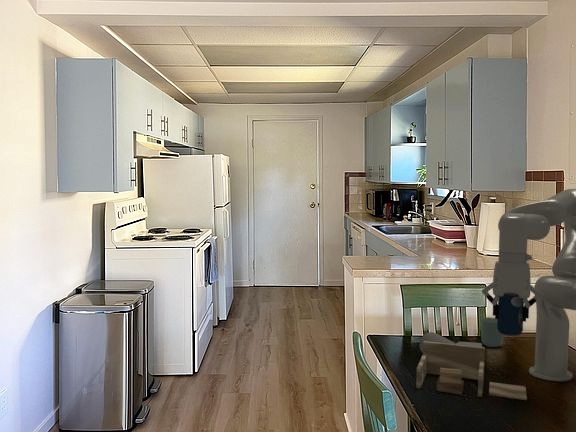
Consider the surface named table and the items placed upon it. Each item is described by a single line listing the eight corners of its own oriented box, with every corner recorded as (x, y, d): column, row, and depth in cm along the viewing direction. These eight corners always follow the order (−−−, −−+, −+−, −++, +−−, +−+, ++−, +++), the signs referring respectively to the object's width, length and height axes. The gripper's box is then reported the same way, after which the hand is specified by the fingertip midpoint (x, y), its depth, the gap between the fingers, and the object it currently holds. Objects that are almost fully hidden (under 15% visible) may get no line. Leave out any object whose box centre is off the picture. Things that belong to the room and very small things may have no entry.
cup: (476, 344, 219) (477, 317, 219) (493, 342, 222) (494, 316, 221) (489, 349, 212) (490, 322, 211) (507, 348, 214) (508, 321, 214)
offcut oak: (440, 377, 172) (440, 367, 172) (461, 379, 171) (461, 369, 171) (439, 382, 169) (440, 371, 168) (461, 384, 167) (461, 373, 167)
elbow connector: (417, 365, 189) (482, 371, 184) (418, 332, 191) (482, 337, 186) (419, 361, 206) (478, 366, 201) (420, 331, 208) (479, 335, 203)
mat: (489, 383, 176) (489, 381, 176) (525, 388, 172) (525, 386, 172) (489, 395, 166) (489, 393, 166) (526, 400, 163) (526, 398, 163)
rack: (422, 371, 186) (423, 340, 185) (483, 379, 180) (484, 347, 179) (416, 388, 171) (417, 354, 170) (482, 396, 165) (483, 362, 164)
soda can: (525, 337, 164) (526, 295, 164) (499, 336, 165) (501, 294, 165) (519, 331, 171) (521, 290, 170) (494, 329, 172) (496, 289, 171)
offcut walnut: (439, 387, 173) (439, 377, 173) (463, 390, 170) (463, 380, 170) (436, 391, 169) (437, 381, 169) (461, 395, 166) (461, 385, 166)
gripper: (544, 258, 167) (542, 319, 169) (481, 255, 173) (479, 314, 175) (546, 261, 160) (543, 325, 162) (480, 258, 166) (478, 319, 167)
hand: (510, 319), depth 168 cm, fingers closed on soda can, 7 cm apart
